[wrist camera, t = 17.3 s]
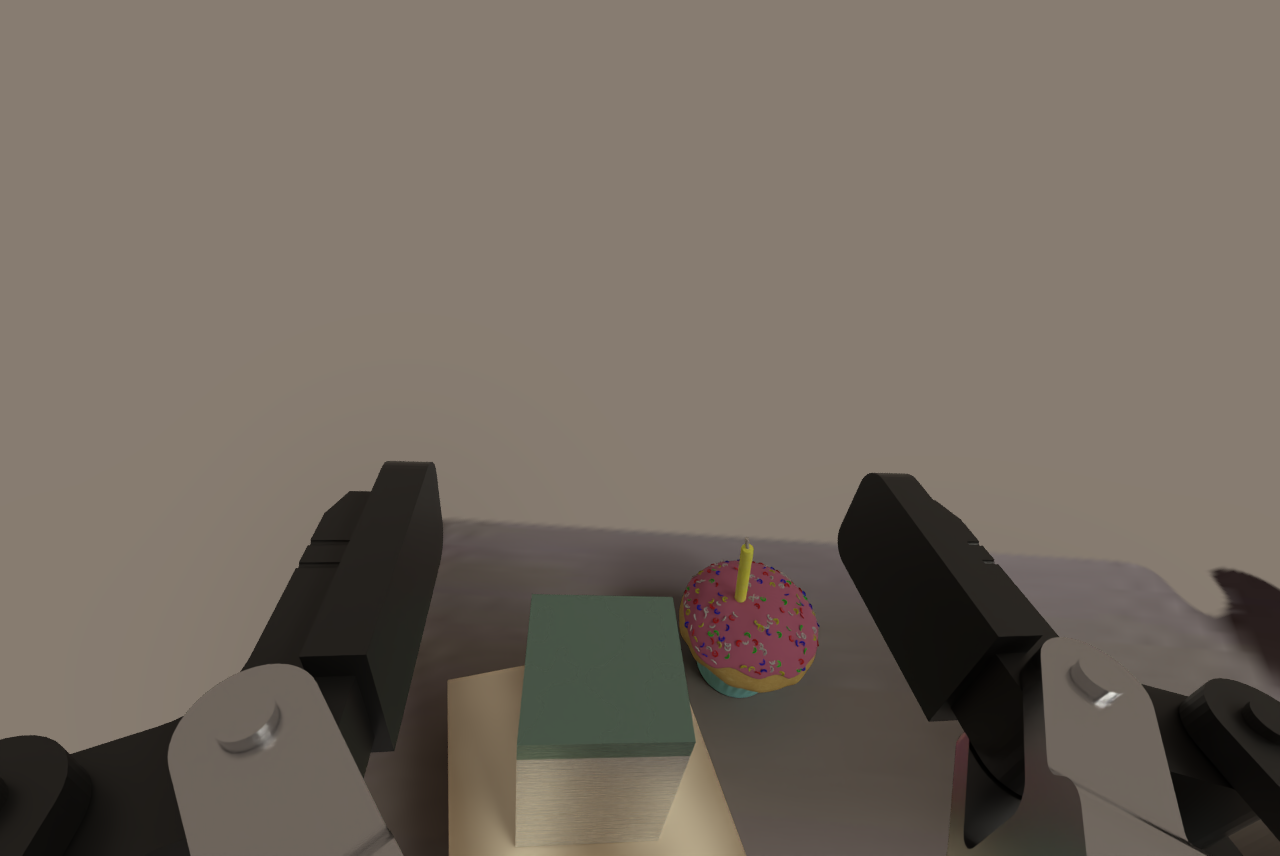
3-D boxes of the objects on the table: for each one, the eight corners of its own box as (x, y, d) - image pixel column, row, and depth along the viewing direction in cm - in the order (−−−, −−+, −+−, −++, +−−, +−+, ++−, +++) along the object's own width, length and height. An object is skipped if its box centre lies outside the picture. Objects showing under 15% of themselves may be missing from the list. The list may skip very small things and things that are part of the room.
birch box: (653, 685, 34) (665, 638, 31) (732, 929, 25) (759, 892, 22) (454, 729, 30) (447, 680, 28) (459, 1034, 21) (450, 1006, 18)
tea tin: (645, 702, 28) (672, 597, 23) (658, 840, 23) (695, 741, 18) (528, 703, 27) (532, 594, 22) (515, 847, 22) (516, 745, 18)
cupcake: (699, 744, 31) (749, 614, 24) (649, 620, 37) (678, 490, 31) (822, 705, 34) (897, 579, 27) (756, 597, 40) (804, 473, 34)
